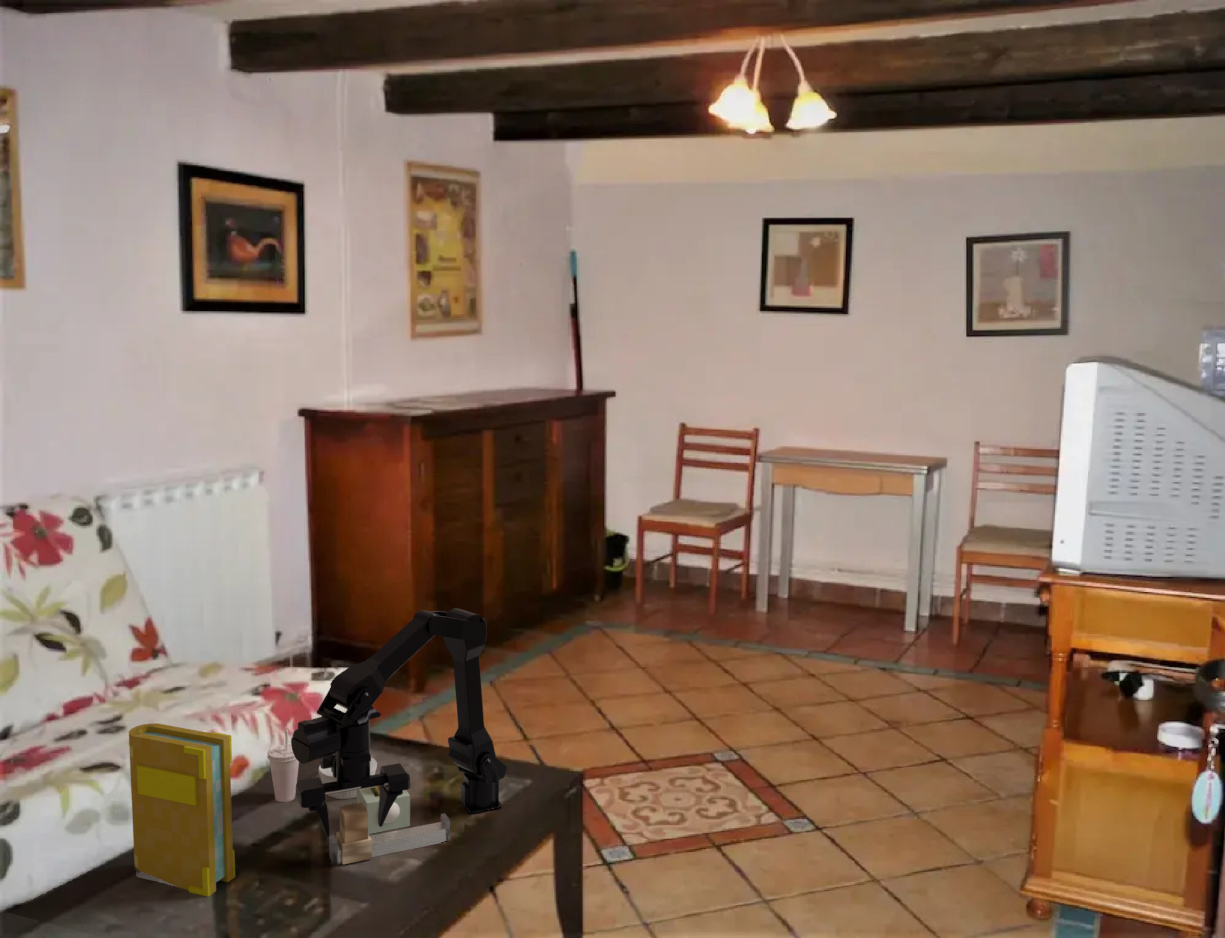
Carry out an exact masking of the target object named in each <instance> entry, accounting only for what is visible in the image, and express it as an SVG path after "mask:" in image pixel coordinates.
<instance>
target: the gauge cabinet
mask: <svg viewBox="0 0 1225 938" xmlns="http://www.w3.org/2000/svg"><path fill="white" fill-rule="evenodd" d="M356 803H363V804H364V806H365V808H366V810H367V811H368V834H369V835H371V834H372V835H373V834H375V833H377V834H378V833H381V832H382V833H383V832H388V831H391V830H392V831H393V830H398V829H403V828H407V827H408V828H409V827H411V795H410V793H409V792H408V790H403V794H402V795H399V796H397V798H396V800H395V801H394V803H393V805H392V806H391V808H390V810H389V812H388V814H387V817H386V819H385V821H384V823H383V825H382V827H379V825H378V809H379V796H378V797H375V786H374V787H368V788H362V789H357V797H356Z"/></svg>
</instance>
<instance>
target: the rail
mask: <svg viewBox="0 0 1225 938" xmlns="http://www.w3.org/2000/svg"><path fill="white" fill-rule="evenodd" d="M369 836H370V838H371V839H372V858H375V857H380V856H383V855H390V854H393V853H400V852H404V851H409V850H413V849H419V848H423V847H429V846H433V845H437V844H442V843H441V842H444V841H449V840H450V841H451V819H450V817H448V816H447V814H446V813H445V812H444V813H441V814H440V821H439V822H433V823H430V824H429V823H427V824H424V825H419V826H418V825H417V826H413V827H408V828H407V827H406V828H401V829H396V830H392V831H389V832H388V831H386V832H382V833H377V834H372V835H371V834H370V835H369ZM450 841H449V842H450ZM444 843H445V842H444ZM328 853H329V854H328V855H329V859H330V861H331V864H332V866H337V865H340V864H341V865H342V864H343V863H342V848H341V846H340V844H339V842H337V838H336V836H335V835H334V834H331V835H330V834H329V837H328Z"/></svg>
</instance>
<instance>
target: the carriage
mask: <svg viewBox="0 0 1225 938" xmlns="http://www.w3.org/2000/svg"><path fill="white" fill-rule="evenodd" d="M370 836H371V835H370V834H368V811H367V810H366V808H365V806H364V804H363V803H357V802H356V803H350V804H345V805H341V806H339V831H336V835H335V839H336V841H337V842H339V844H340V846H341V848H342V863H341V864H342V865H346V864H351V863H357V862H361V861H366V860H371V859H373V857H372V839H371V838H370Z"/></svg>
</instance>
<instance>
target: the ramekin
mask: <svg viewBox="0 0 1225 938" xmlns="http://www.w3.org/2000/svg"><path fill="white" fill-rule="evenodd" d="M377 768H378V762H377V760H376V759H375V758H374V757H372V756H371V761H370V775H376V771H377ZM318 774H319V778H320V780H321V782H322V784H324V783H329V782H335V781H337V780H336V778H334V777H333V772H331V768H326V769H322V768H321V766H320V765H319V766H318ZM327 796H328V797H330V798H332V799H333V798H334V799H338V800H352V799H354V798H356V799H357V790H351V791H345V792H340V793H334V794H328V795H327Z"/></svg>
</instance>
